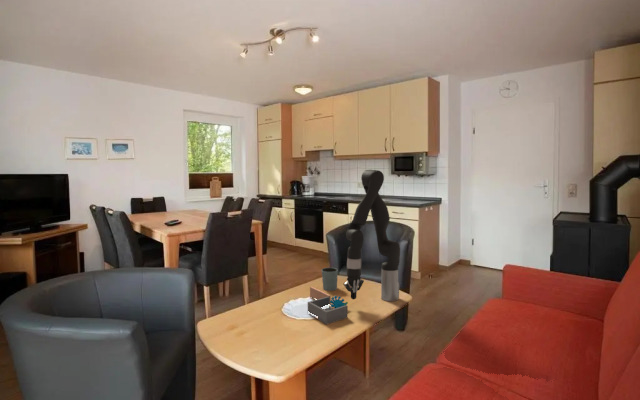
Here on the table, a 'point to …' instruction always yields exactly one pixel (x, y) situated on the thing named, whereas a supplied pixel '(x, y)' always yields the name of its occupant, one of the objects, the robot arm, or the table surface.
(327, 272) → the grey green cup
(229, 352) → the table surface
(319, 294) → the tan thin board
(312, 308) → the housing
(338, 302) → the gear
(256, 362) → the table surface
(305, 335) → the table surface
